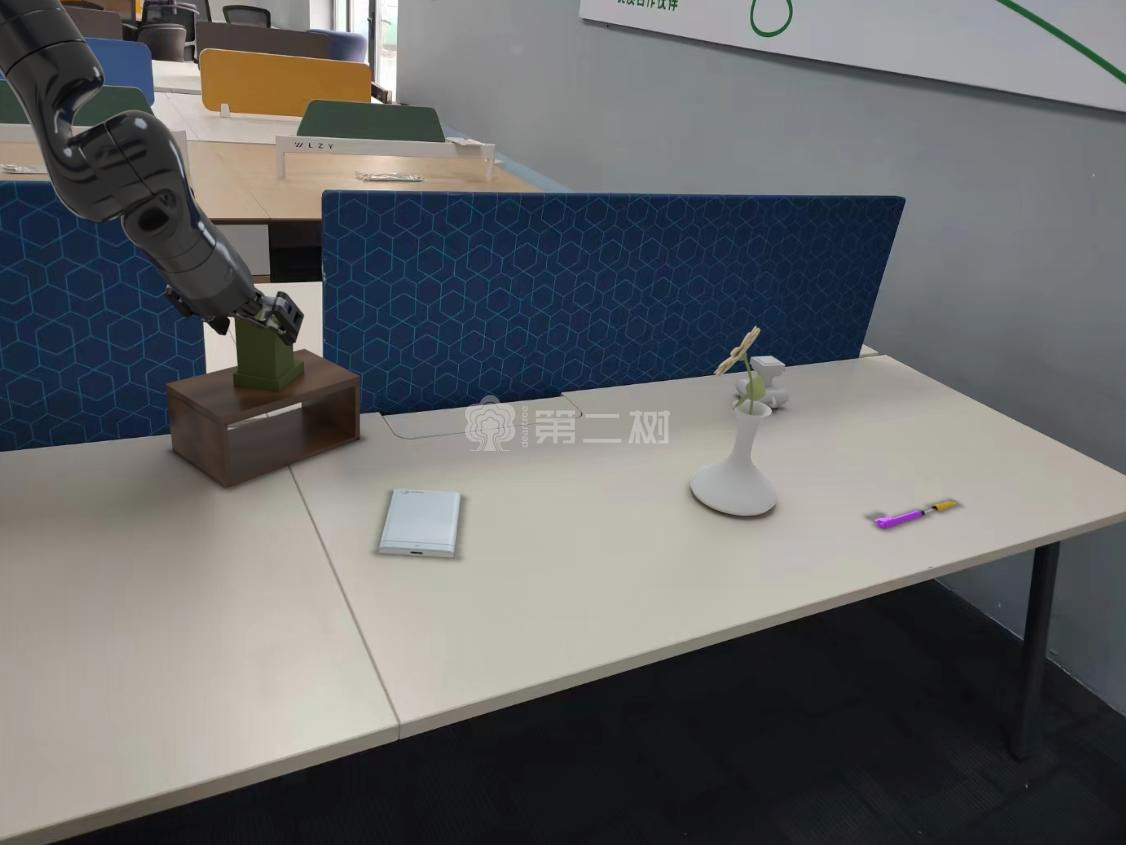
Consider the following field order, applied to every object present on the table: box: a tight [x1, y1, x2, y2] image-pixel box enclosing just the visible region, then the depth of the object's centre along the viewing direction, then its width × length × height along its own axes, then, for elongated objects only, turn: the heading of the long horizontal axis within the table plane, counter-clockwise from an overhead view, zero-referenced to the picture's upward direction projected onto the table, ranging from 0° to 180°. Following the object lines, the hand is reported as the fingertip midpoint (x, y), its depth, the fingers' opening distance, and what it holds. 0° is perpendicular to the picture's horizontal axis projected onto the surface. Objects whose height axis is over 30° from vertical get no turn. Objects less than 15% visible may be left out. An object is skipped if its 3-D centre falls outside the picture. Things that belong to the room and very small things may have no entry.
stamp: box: [734, 355, 790, 409], centre depth 140 cm, size 9×7×8 cm
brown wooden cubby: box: [165, 348, 361, 489], centre depth 109 cm, size 12×20×10 cm, turn 141°
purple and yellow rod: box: [873, 500, 957, 530], centre depth 113 cm, size 3×1×16 cm
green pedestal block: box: [233, 307, 304, 392], centre depth 105 cm, size 7×6×9 cm
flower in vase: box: [689, 325, 777, 517], centre depth 106 cm, size 13×11×25 cm
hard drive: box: [378, 488, 462, 559], centre depth 98 cm, size 2×8×12 cm
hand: (258, 333), depth 102 cm, fingers open, 8 cm apart
